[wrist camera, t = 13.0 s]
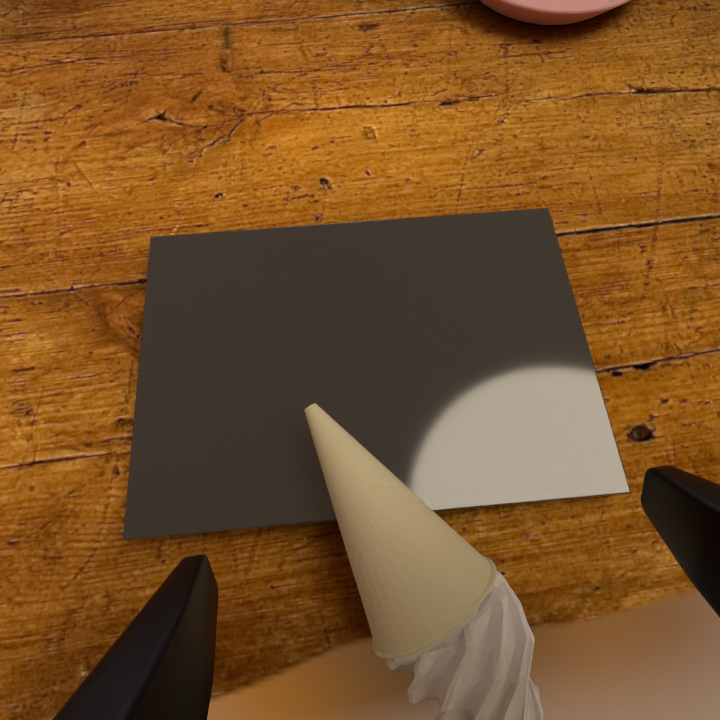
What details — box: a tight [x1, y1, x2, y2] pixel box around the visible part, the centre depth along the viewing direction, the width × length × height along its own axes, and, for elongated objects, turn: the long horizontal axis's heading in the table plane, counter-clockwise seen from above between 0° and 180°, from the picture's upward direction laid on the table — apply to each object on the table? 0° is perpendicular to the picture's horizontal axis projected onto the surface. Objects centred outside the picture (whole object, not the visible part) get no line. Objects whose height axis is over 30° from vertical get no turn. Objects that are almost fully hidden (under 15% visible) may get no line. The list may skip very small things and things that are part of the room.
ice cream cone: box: [304, 403, 544, 720], centre depth 16 cm, size 5×5×15 cm
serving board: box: [123, 208, 630, 540], centre depth 21 cm, size 14×20×2 cm
